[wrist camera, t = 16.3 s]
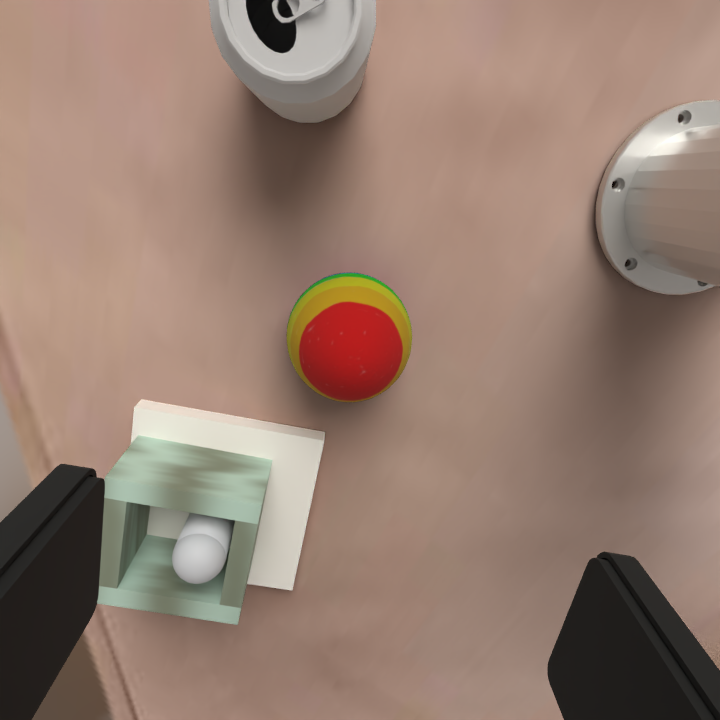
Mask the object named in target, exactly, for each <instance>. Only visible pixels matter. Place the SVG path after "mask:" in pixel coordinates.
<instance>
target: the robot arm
mask: <svg viewBox="0 0 720 720" xmlns="http://www.w3.org/2000/svg"><path fill="white" fill-rule="evenodd" d="M678 116H679V118H680V119H679V122H678ZM613 181H614V182H615V186H614V188H612V182H613ZM596 228H597V234H598V239H599V242H600V244H601V247H602V250H603V252H604V255H605V256H606V258H607V259H608V261H609V262H610V264H611V265H612V267H613V268H614V269H615V270H616V271H617V272H618V273H619V274H620V275H621V276H623V277H624V278H625V279H626V280H628V281H630V282H631V283H633V284H635V285H637V286H639V287H641V288H644V289H647V290H649V291H652V292H657V293H662V294H666V295H685V294H691V293H696V292H701V291H704V290H707V289H709V288H712V287H715V286H719V287H720V100H705V101H695V102H690V103H686V104H682V105H678V106H676V107H673V108H670V109H668V110H665V111H663V112H661V113H659V114H657V115H656V116H654V117H652V118H651V119H649V120H648V121H646V122H644V123H643V124H642V125H641V126H640V127H639V128H637V129H636V130H635V131H634V132H633V133H632V134H631V135H629V137H628V138H627V139H626V140H625V141H624V143H623V144H622V145H621V146H620V147H619V149H618V150H617V151H616V153H615V154H614V156H613V158H612V160H611V161H610V163H609V165H608V167H607V168H606V171H605V173H604V176H603V179H602V181H601V184H600V186H599V191H598V197H597V202H596ZM627 260H628V263H627V264H626V265H625V262H626V261H627ZM104 496H105V481H104V479H102V478H97V476H96V471H95V470H94V469H92V468H85V467H79V466H73V465H67V464H60V465H59V466H57V467H56V468H55V469H54V470H53V471H52V472H51V473H50V474H49V475H48V476H47V477H46V478H45V479H44V480H43V481H42V482H41V483H40V484H39V485H38V486H37V487H36V488H35V489H34V490H33V491H32V492H31V493H30V494H29V495H28V496H27V497H26V498H25V499H24V500H23V501H22V502H21V503H20V504H19V505H18V506H17V507H16V508H15V509H14V510H13V511H12V512H11V513H10V514H9V515H8V516H7V517H5V518H4V520H2V522H0V720H32V718H33V716H34V715H35V713H36V711H37V709H38V708H39V706H40V704H41V702H42V701H43V699H44V698H45V696H46V694H47V692H48V690H49V689H50V687H51V686H52V684H53V682H54V680H55V679H56V677H57V675H58V673H59V672H60V670H61V668H62V667H63V665H64V663H65V662H66V660H67V658H68V657H69V655H70V653H71V651H72V650H73V648H74V646H75V645H76V643H77V641H78V640H79V638H80V636H81V634H82V633H83V631H84V629H85V628H86V626H87V624H88V623H89V621H90V619H91V617H92V615H93V613H94V611H95V608H96V605H97V601H98V595H99V579H100V562H101V546H102V529H103V512H104ZM548 679H549V682H550V685H551V688H552V690H553V693H554V695H555V698H556V700H557V703H558V706H559V708H560V711H561V713H562V716H563V718H564V720H720V670H719V669H718V668H717V666H716V665H715V664H714V662H713V661H712V660H711V658H710V657H709V656H708V654H707V653H706V652H705V650H704V649H703V648H702V646H701V645H700V643H699V642H698V641H697V639H696V638H695V637H694V635H693V634H692V633H691V631H690V630H689V629H688V627H687V626H686V625H685V623H684V622H683V621H682V619H681V618H680V617H679V615H678V614H677V613H676V611H675V610H674V609H673V607H672V606H671V605H670V603H669V602H668V601H667V599H666V598H665V597H664V595H663V594H662V593H661V591H660V590H659V589H658V587H657V586H656V585H655V583H654V582H653V581H652V579H651V578H650V577H649V575H648V574H647V573H646V571H645V570H644V569H643V567H642V566H641V565H640V563H639V562H638V561H637V560H636V559H635V558H634V557H631V556H627V555H621V554H615V553H608V552H602V553H600V554H599V555H598V556H597V558H592V559H591V560H589V562H588V564H587V566H586V569H585V571H584V574H583V576H582V579H581V581H580V584H579V586H578V589H577V591H576V594H575V596H574V599H573V601H572V604H571V606H570V609H569V611H568V614H567V616H566V619H565V621H564V624H563V626H562V629H561V631H560V634H559V636H558V639H557V641H556V644H555V646H554V649H553V651H552V654H551V656H550V659H549V662H548Z"/></svg>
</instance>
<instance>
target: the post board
mask: <svg viewBox="0 0 720 720" xmlns="http://www.w3.org/2000/svg"><path fill="white" fill-rule="evenodd" d="M138 435H140V436H146V437H151V438H157V439H162V440H167V441H173V442H178V443H184V444H189V445H194V446H200V447H205V448H211V449H216V450H221V451H227V452H232V453H238V454H243V455H248V456H254V457H259V458H265V459H270V460H272V465H271V470H270V475H269V480H268V485H267V490H266V495H265V500H264V505H263V510H262V515H261V520H260V525H259V530H258V535H257V540H256V545H255V550H254V555H253V559H252V564H251V569H250V573H249V578H248V582H247V584H251V585H258V586H265V587H272V588H278V589H285V590H292V589H293V585H294V580H295V575H296V571H297V566H298V562H299V557H300V552H301V548H302V543H303V538H304V534H305V529H306V524H307V520H308V515H309V510H310V506H311V501H312V496H313V492H314V487H315V482H316V478H317V473H318V468H319V464H320V459H321V454H322V450H323V445H324V439H325V432H323V431H317V430H311V429H306V428H300V427H295V426H289V425H283V424H278V423H272V422H267V421H261V420H255V419H250V418H244V417H239V416H233V415H227V414H222V413H216V412H211V411H205V410H199V409H194V408H188V407H182V406H177V405H171V404H166V403H160V402H154V401H149V400H143V399H141V400H140V401H139V403H138V404H137V405H136V406H135V407H134V416H133V427H132V437H131V444H132V442H133V441H134V440H135V439H136V437H137V436H138ZM234 524H235V520H230V519H224V518H219V517H213V516H207V515H201V514H195V513H190V512H184V511H178V510H172V509H166V508H161V507H155V506H150V512H149V520H148V527H147V535H153V536H159V537H165V538H171V539H177V543H176V545H175V547H174V550H173V554H172V564H173V567H174V570H175V572H176V573H177V575H178V576H179V577H180V578H181V579H183V580H184V581H186V582H189V583H193V584H201V583H205V582H208V581H210V580H211V579H213V578H214V577H216V576H217V575H218V574H219V572H220V571H221V570H222V568H223V566H224V564H225V561H226V557H227V554H228V551H229V548H230V546H231V540H232V535H233V529H234Z"/></svg>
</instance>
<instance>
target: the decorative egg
mask: <svg viewBox="0 0 720 720" xmlns="http://www.w3.org/2000/svg"><path fill="white" fill-rule="evenodd" d="M411 344H412V331H411V323H410V320H409V316H408V314H407V311H406V309H405V307H404V305H403V303H402V302H401V300H400V299H399V297H398V296H397V295H396V294H395V293H394V292H393V290H391V289H390V288H389V287H388V286H387V285H385V284H384V283H382V282H381V281H379V280H377V279H375V278H373V277H371V276H368V275H364V274H359V273H339V274H334V275H331V276H328V277H325V278H323V279H321V280H319V281H317V282H316V283H314V284H313V285H312V286H310V287H309V288H308V289H307V290H306V291H305V292H304V293H303V294H302V295H301V296H300V298H299V299H298V301H297V302H296V304H295V306H294V308H293V310H292V312H291V315H290V318H289V322H288V326H287V346H288V352H289V356H290V359H291V361H292V364H293V366H294V368H295V370H296V372H297V373H298V375H299V376H300V377H301V379H302V380H303V381H304V382H305V383H306V384H307V385H308V386H309V387H310V388H311V389H313V390H314V391H315V392H317V393H318V394H320V395H322V396H324V397H327V398H329V399H332V400H335V401H341V402H358V401H364V400H367V399H370V398H373V397H375V396H377V395H379V394H381V393H382V392H384V391H385V390H387V389H388V388H389V387H390V386H391V385H392V384H393V383H394V382H395V381H396V380H397V379H398V378H399V376H400V375H401V373H402V372H403V370H404V368H405V366H406V363H407V361H408V358H409V355H410V351H411Z"/></svg>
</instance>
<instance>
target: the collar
mask: <svg viewBox="0 0 720 720" xmlns="http://www.w3.org/2000/svg"><path fill="white" fill-rule="evenodd" d="M271 465H272V460H270V459H265V458H259V457H254V456H248V455H243V454H238V453H232V452H227V451H221V450H216V449H211V448H205V447H200V446H194V445H189V444H184V443H178V442H173V441H167V440H162V439H157V438H151V437H146V436H140V435H138V436H137V437H136V439H135V440H134V441H133V442H132V444H131V445H130V446H129V447H128V449H127V450H126V451H125V453H124V454H123V455H122V456H121V458H120V459H119V460H118V461H117V463H116V464H115V465H114V466H113V468H112V469H111V470H110V472H109V473H108V474H107V475H106V477H105V496H104V512H103V529H102V546H101V562H100V579H99V595H98V601H97V603H98V604H104V605H111V606H117V607H124V608H130V609H137V610H144V611H150V612H157V613H163V614H170V615H176V616H183V617H189V618H196V619H202V620H209V621H216V622H222V623H229V624H235V625H238V621H239V617H240V613H241V608H242V604H243V600H244V595H245V591H246V587H247V582H248V578H249V573H250V569H251V564H252V559H253V555H254V550H255V545H256V540H257V535H258V530H259V525H260V520H261V515H262V510H263V505H264V500H265V495H266V490H267V485H268V480H269V475H270V470H271ZM150 506H155V507H161V508H166V509H172V510H178V511H184V512H190V513H195V514H201V515H207V516H213V517H219V518H224V519H230V520H235V524H234V529H233V535H232V540H231V546H230V548H229V551H228V554H227V557H226V561H225V564H224V566H223V568H222V570H221V571H220V572H219V574H218V575H217V576H216V577H214V578H213V579H211V580H210V581H208V582H205V583H201V584H193V583H189V582H186V581H184V580H183V579H181V578H180V577H179V576H178V575H177V573H176V572H175V570H174V567H173V564H172V554H173V550H174V547H175V545H176V543H177V539H171V538H165V537H159V536H153V535H147V527H148V520H149V512H150Z"/></svg>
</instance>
